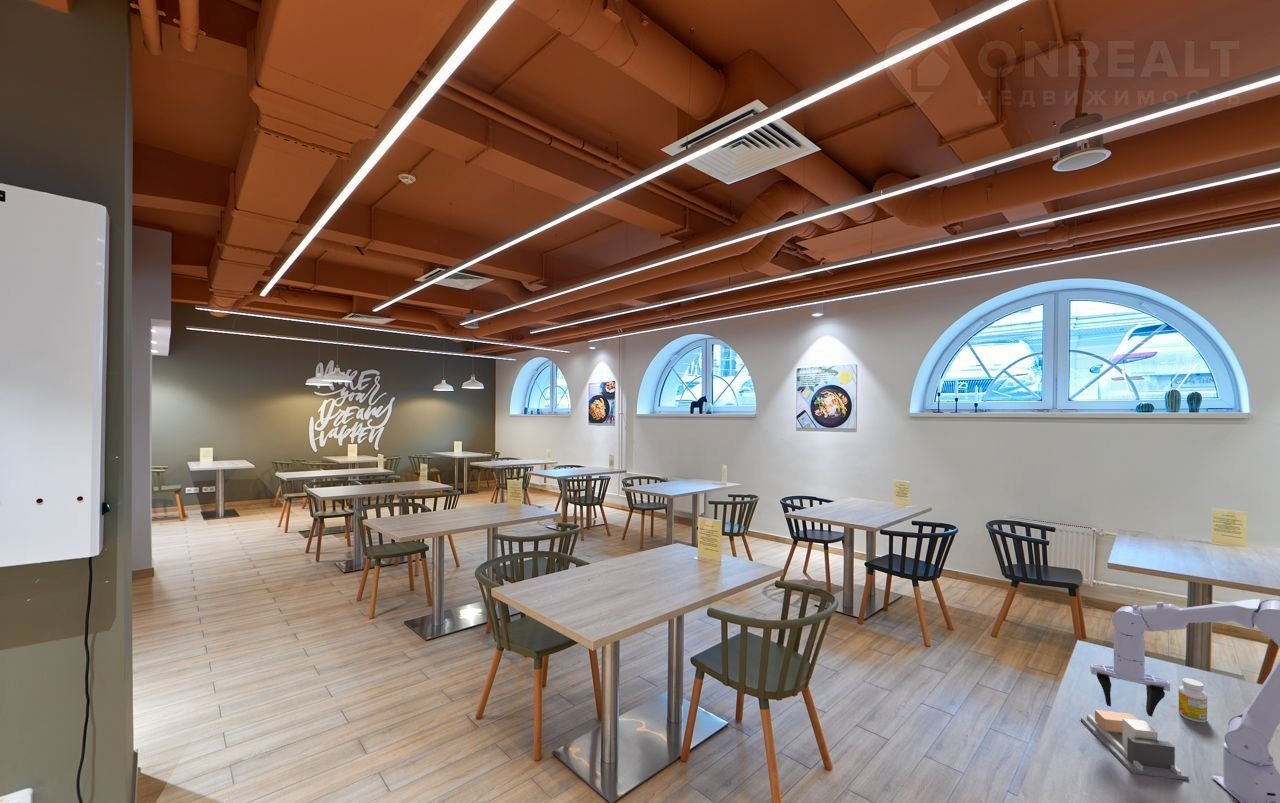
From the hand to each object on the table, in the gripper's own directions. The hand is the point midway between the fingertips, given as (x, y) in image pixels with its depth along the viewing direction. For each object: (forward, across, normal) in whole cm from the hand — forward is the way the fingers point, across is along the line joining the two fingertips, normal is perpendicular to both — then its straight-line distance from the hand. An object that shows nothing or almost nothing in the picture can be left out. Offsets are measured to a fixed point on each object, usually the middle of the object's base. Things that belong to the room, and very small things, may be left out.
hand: (1128, 709), depth 131 cm
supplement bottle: (+10, -18, -25) cm, 32 cm away
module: (+9, -2, +3) cm, 9 cm away
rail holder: (+10, 0, 0) cm, 10 cm away
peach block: (+7, +1, -4) cm, 8 cm away
